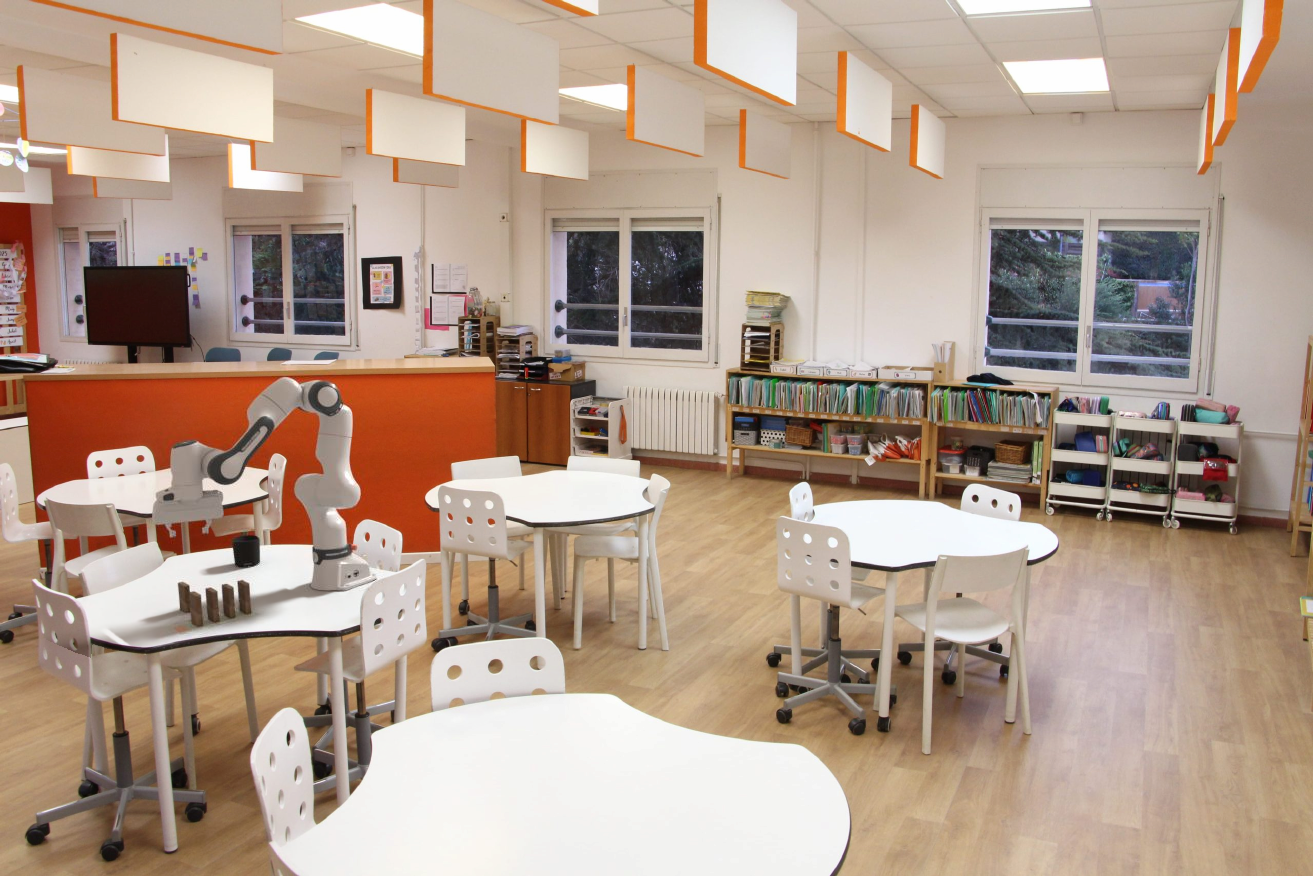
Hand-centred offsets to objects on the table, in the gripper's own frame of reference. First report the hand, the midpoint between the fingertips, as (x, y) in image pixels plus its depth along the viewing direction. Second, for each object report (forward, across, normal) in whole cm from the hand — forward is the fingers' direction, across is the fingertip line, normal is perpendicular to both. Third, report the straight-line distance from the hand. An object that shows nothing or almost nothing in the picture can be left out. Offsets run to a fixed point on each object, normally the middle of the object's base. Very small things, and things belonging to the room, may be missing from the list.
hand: (189, 535), depth 306 cm
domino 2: (+25, -4, +13) cm, 28 cm away
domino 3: (+25, -8, +12) cm, 29 cm away
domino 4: (+24, -13, +11) cm, 30 cm away
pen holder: (+24, -27, -44) cm, 57 cm away
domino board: (+26, -4, +13) cm, 29 cm away
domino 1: (+25, +1, +14) cm, 29 cm away
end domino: (+26, +2, -1) cm, 26 cm away
